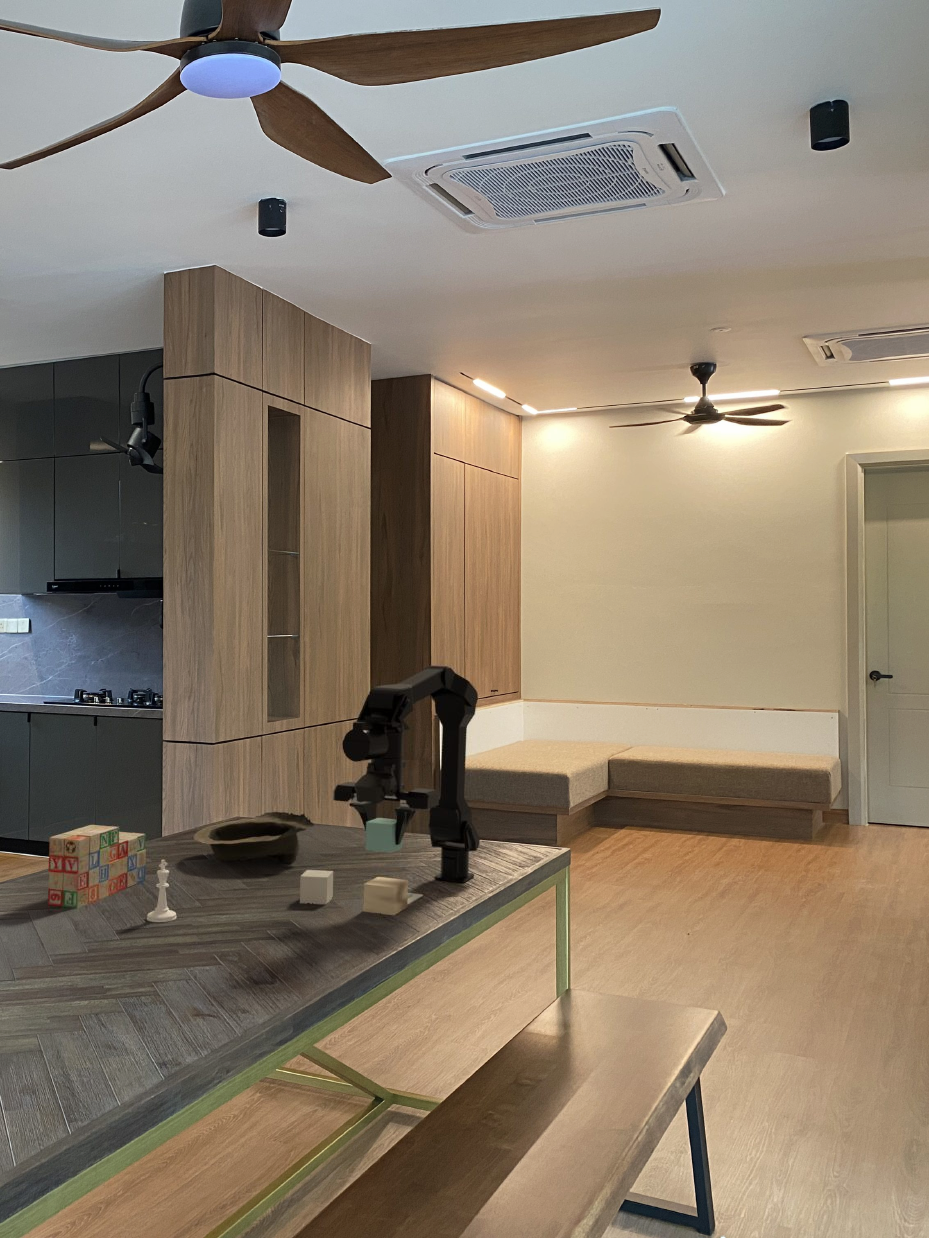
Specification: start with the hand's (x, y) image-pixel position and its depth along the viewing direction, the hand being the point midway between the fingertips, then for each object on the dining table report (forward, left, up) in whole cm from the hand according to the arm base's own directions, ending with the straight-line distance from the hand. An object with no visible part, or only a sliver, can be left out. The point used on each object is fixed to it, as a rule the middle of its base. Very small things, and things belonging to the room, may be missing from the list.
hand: (384, 842), depth 193 cm
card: (-8, 0, -12) cm, 14 cm away
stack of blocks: (+13, -52, -12) cm, 55 cm away
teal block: (0, 0, -1) cm, 1 cm away
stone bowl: (-23, -41, -12) cm, 49 cm away
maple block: (0, +1, -12) cm, 12 cm away
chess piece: (+22, -31, -12) cm, 40 cm away
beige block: (0, -13, -12) cm, 18 cm away
